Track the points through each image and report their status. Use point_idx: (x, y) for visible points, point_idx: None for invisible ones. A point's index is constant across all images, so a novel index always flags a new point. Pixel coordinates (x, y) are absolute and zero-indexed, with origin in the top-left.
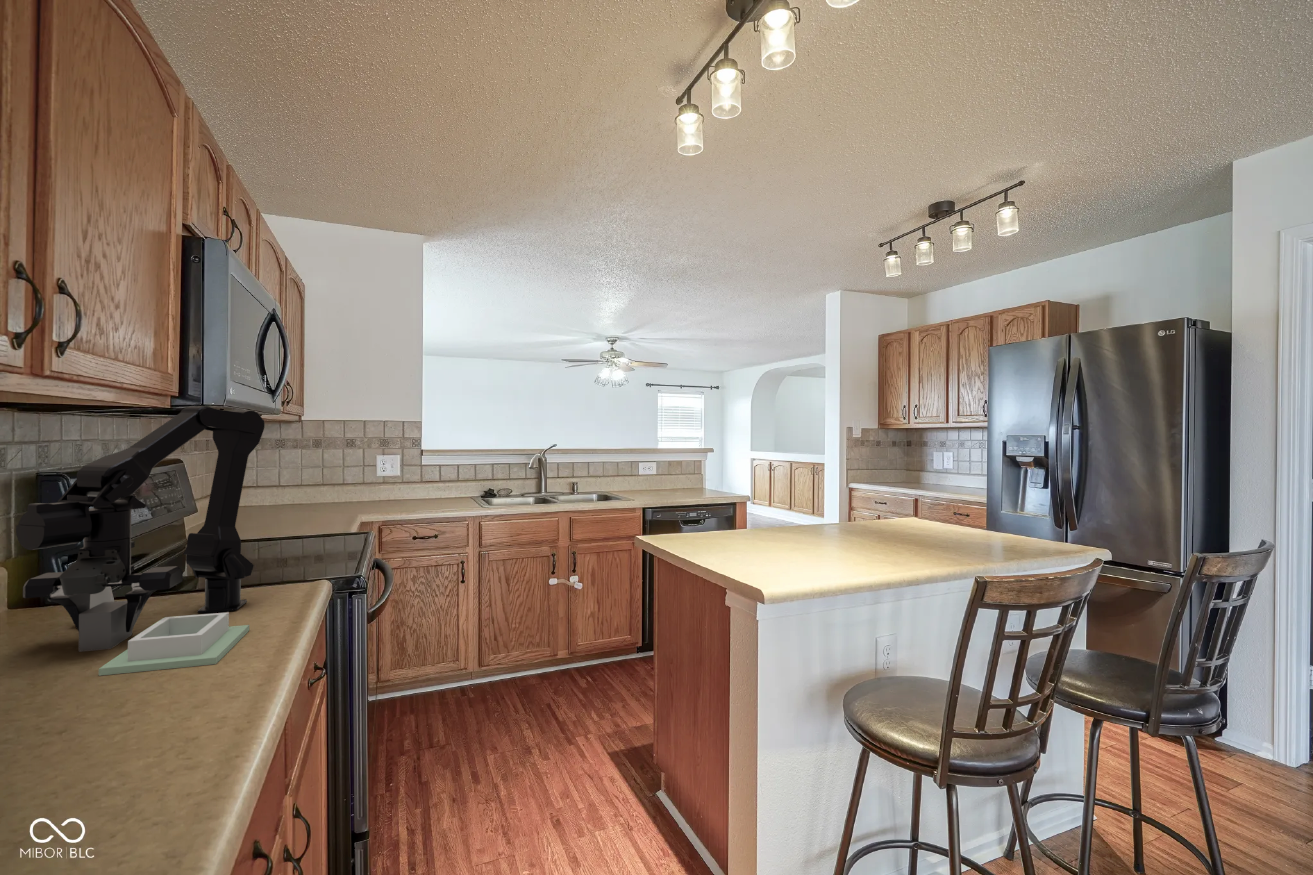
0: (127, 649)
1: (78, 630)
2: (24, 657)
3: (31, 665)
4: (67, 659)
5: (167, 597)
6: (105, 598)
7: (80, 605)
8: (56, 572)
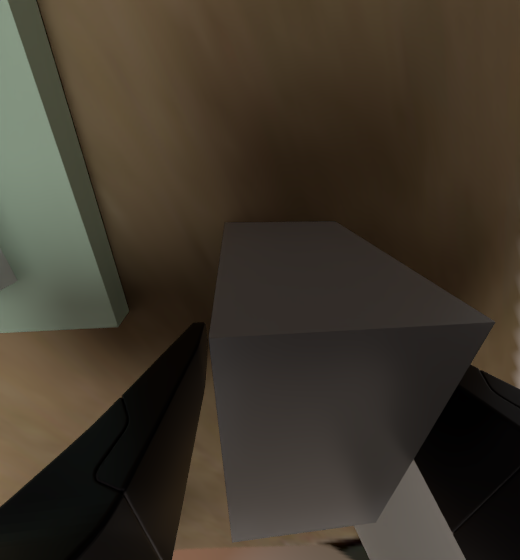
0: (6, 8)
1: None
2: (497, 204)
3: (474, 48)
4: (345, 101)
5: (287, 543)
6: (383, 545)
7: (508, 474)
8: None
